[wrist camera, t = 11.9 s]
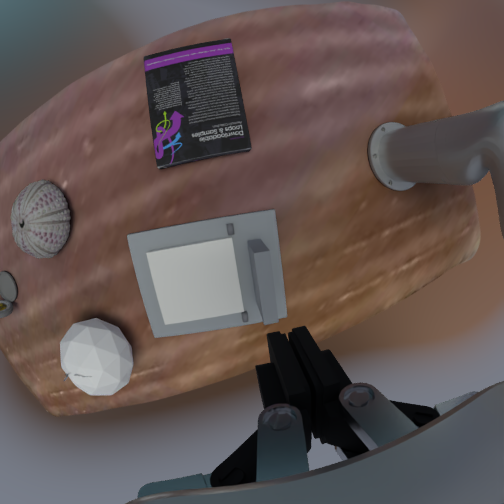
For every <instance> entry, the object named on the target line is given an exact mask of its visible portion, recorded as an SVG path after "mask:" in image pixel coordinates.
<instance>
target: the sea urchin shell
mask: <svg viewBox="0 0 504 504" xmlns="http://www.w3.org/2000/svg"><path fill="white" fill-rule="evenodd" d="M67 205H68V203H67V202H66V199H65V198H64V195H63V193H62V192H61V191H60V190H59V188H58V187H57V186H55V185H54V184H52V183H51V182H49V181H46V180H45V181H44V180H41V181H38V182H33V183H32V184H31V183H30V185H28V187H26V188H25V189H24V190H22V191H21V193H20V194H19V196H17V199H16V200H15V202H14V204H13V207H12V214H11V220H12V230H13V233H12V234H13V236H14V239H15V242H16V243H17V245H18V246H19V247H20V248H21V249H22V251H24V252H25V253H28V254H30V255H32V256H35V257H36V258H38V259H39V258H43V257H45V258H46V257H47V258H52V257H53V256H54V255H57V253H58V252H59V250H60V249H61V248H62V246H63V245H64V244H65V243H66V241H67V238H68V236H69V234H68V233H69V231H70V229H69V227H70V224H69V220H70V218H71V217H70V210H69V209H68V206H67Z"/></svg>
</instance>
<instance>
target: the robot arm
mask: <svg viewBox="0 0 504 504" xmlns="http://www.w3.org/2000/svg"><path fill="white" fill-rule="evenodd" d="M368 157H369V162H370V166H371V168H372V170H373V172H374V174H375V176H376V177H377V179H378V180H379V181H380V182H381V183H382V184H383V185H384V186H386V187H388V188H390V189H393V190H398V191H402V190H407V189H410V188H411V187H413V186H414V185H415V184H416V183H435V184H451V185H473V184H475V183H477V182H479V181H480V180H481V179H482V178H483V177H484V176H485V175H486V174H487V172H488V171H490V173H491V177H492V181H493V185H494V189H495V193H496V200H497V206H498V213H499V221H500V227H501V232H502V236H503V238H504V101H501V102H498V103H496V104H493V105H491V106H488V107H486V108H483V109H480V110H477V111H474V112H470V113H466V114H462V115H457V116H453V117H448V118H443V119H438V120H433V121H429V122H424V123H420V124H416V125H411V126H407V127H405V126H404V125H402V124H400V123H396V122H388V123H385V124H382V125H380V126H379V127H377V128H376V129H375V130H374V132H373V133H372V135H371V137H370V140H369V144H368ZM288 338H289V341H288V339H287V337H286V334H285V333H284V334H281V333H280V331H278V332H273V333H268V334H267V340H268V347H269V354H270V361H271V363H267V364H262V365H256V371H257V378H258V383H259V388H260V393H261V398H262V402H263V406H264V410H263V411H262V412H261V413H260V415H259V417H258V429H257V430H256V431H255V432H254V433H253V434H252V435H251V436H250V437H249V438H248V439H247V440H246V441H245V442H244V443H243V444H242V445H241V446H240V447H239V448H238V449H237V450H236V451H234V452H233V453H232V454H231V455H230V456H229V457H228V458H227V459H226V460H225V461H223V463H221V464H220V465H219V466H218V467H217V468H216V469H215V470H214V471H213V472H212V473H210V474H207V475H202V473H200V474H196V475H191V476H187V477H182V478H176V479H171V480H165V481H159V482H152V483H149V484H146V485H144V486H143V487H141V488H140V490H139V492H138V498H137V499H135V500H132V501H130V502H128V503H126V504H504V381H503V382H499V383H496V384H494V385H492V386H489V387H488V388H485V389H483V390H482V391H480V392H470V393H467V394H465V395H462V396H459V397H457V398H455V399H451V400H449V401H446V402H443V403H440V404H437V405H435V407H434V408H431V407H427V406H421V405H415V404H408V403H402V402H396V401H391V400H388V399H387V398H386V397H385V396H384V395H383V394H381V392H379V390H377V389H376V388H375V387H374V386H372V385H370V384H367V383H354V384H352V382H351V381H350V379H349V378H348V376H347V375H346V373H345V372H344V370H343V369H342V367H341V366H340V364H339V363H338V361H337V360H336V358H335V357H334V355H333V354H332V352H331V351H330V350H324V351H320V349H319V347H318V346H317V344H316V342H315V341H314V339H313V338H312V336H311V334H310V333H309V331H308V329H307V328H306V326H301V327H297V328H293V329H292V332H289V333H288ZM311 433H313V436H314V438H315V439H316V438H320V441H321V443H322V444H324V443H328V444H331V445H334V446H335V450H336V452H337V453H338V455H339V456H340V458H341V459H342V460H343V461H341V462H338V463H335V464H332V465H329V466H325V467H322V468H319V469H315V470H311V471H309V464H308V458H307V453H308V452H309V450H310V449H311V439H312V437H311V435H312V434H311Z"/></svg>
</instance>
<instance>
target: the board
mask: <svg viewBox="0 0 504 504" xmlns="http://www.w3.org/2000/svg"><path fill="white" fill-rule="evenodd" d="M226 237H232V241H233V247H234V253H235V259H236V266H237V272H238V278H239V284H240V290H241V295H242V301H243V307H244V312H239V313H234V314H229V315H223V316H217V317H212V318H206V319H200V320H194V321H187V322H181V323H174V324H168V325H165V323H164V320H163V316H162V313H161V309H160V306H159V302H158V299H157V295H156V291H155V287H154V283H153V279H152V275H151V271H150V267H149V263H148V259H147V254H146V253H147V252H148V251H154V250H159V249H164V248H170V247H175V246H181V245H186V244H192V243H197V242H203V241H209V240H214V239H220V238H226ZM127 238H128V243H129V247H130V252H131V256H132V260H133V264H134V268H135V272H136V276H137V280H138V284H139V288H140V291H141V295H142V298H143V302H144V305H145V309H146V312H147V315H148V318H149V322H150V325H151V328H152V331H153V334H154V337H155V338H157V337H166V336H175V335H183V334H190V333H197V332H204V331H211V330H218V329H224V328H230V327H236V326H242V325H248V324H254V323H259V322H263V323H264V325H267V324H272V323H277V322H279V320H278V319H280V318H285V317H287V309H286V300H285V290H284V281H283V272H282V264H281V255H280V247H279V239H278V230H277V223H276V215H275V210H274V209H270V210H263V211H257V212H250V213H244V214H237V215H231V216H225V217H219V218H213V219H207V220H201V221H195V222H190V223H184V224H179V225H173V226H168V227H162V228H157V229H152V230H147V231H142V232H137V233H132V234H128V235H127Z"/></svg>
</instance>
